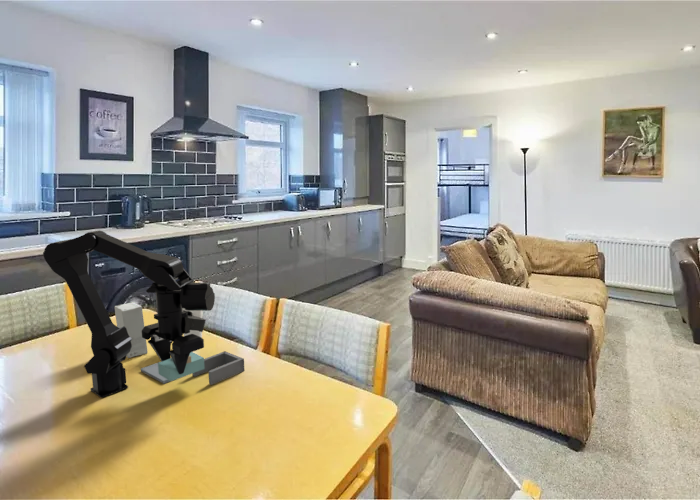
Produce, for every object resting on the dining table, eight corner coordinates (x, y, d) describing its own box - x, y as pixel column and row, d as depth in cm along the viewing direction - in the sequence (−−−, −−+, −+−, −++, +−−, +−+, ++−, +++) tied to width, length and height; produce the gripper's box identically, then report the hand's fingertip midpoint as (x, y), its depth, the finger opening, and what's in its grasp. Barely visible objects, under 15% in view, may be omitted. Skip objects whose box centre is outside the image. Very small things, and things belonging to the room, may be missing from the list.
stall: (211, 385, 110) (210, 372, 109) (192, 375, 115) (191, 363, 115) (244, 370, 118) (243, 358, 118) (225, 362, 124) (224, 351, 123)
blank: (170, 381, 102) (169, 363, 101) (158, 374, 106) (157, 356, 105) (204, 368, 109) (203, 352, 108) (192, 362, 113) (191, 346, 112)
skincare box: (148, 353, 130) (144, 306, 127) (126, 359, 126) (122, 310, 123) (138, 345, 136) (134, 300, 133) (118, 351, 132) (113, 304, 129)
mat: (163, 383, 111) (163, 381, 111) (141, 371, 118) (140, 368, 118) (204, 367, 120) (204, 365, 120) (180, 357, 127) (180, 354, 127)
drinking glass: (190, 350, 132) (187, 303, 130) (178, 345, 136) (174, 299, 134) (209, 343, 138) (206, 298, 135) (196, 338, 142) (194, 295, 139)
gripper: (221, 308, 104) (224, 369, 107) (179, 296, 115) (183, 350, 118) (179, 320, 95) (183, 385, 98) (138, 305, 107) (143, 364, 109)
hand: (174, 370), depth 106 cm, fingers closed on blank, 6 cm apart
